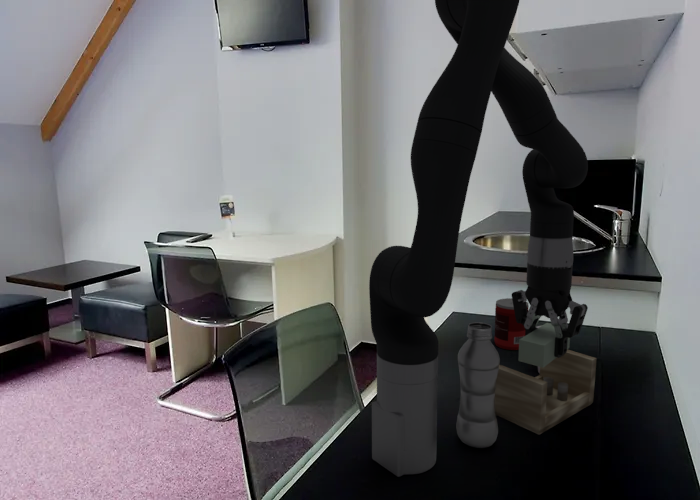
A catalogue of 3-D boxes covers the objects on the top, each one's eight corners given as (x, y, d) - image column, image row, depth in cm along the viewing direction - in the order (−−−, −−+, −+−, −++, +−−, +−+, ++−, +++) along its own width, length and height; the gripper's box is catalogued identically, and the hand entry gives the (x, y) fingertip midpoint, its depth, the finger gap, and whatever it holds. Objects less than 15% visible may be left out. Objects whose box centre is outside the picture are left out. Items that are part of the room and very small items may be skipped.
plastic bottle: (490, 458, 79) (495, 335, 75) (449, 445, 82) (452, 328, 79) (502, 438, 84) (507, 323, 81) (463, 427, 88) (466, 317, 84)
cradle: (539, 434, 85) (542, 384, 84) (488, 411, 93) (490, 365, 92) (593, 403, 96) (596, 358, 95) (543, 384, 104) (545, 342, 103)
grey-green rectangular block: (543, 367, 87) (544, 345, 86) (518, 360, 90) (519, 339, 89) (569, 347, 96) (570, 327, 95) (545, 342, 99) (546, 322, 98)
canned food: (529, 342, 128) (532, 300, 126) (521, 353, 121) (524, 308, 119) (499, 337, 132) (501, 296, 130) (490, 347, 125) (491, 304, 123)
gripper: (502, 258, 93) (499, 345, 96) (577, 270, 82) (571, 369, 85) (526, 252, 98) (523, 336, 101) (600, 264, 86) (594, 358, 90)
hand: (545, 351), depth 93 cm, fingers closed on grey-green rectangular block, 5 cm apart
